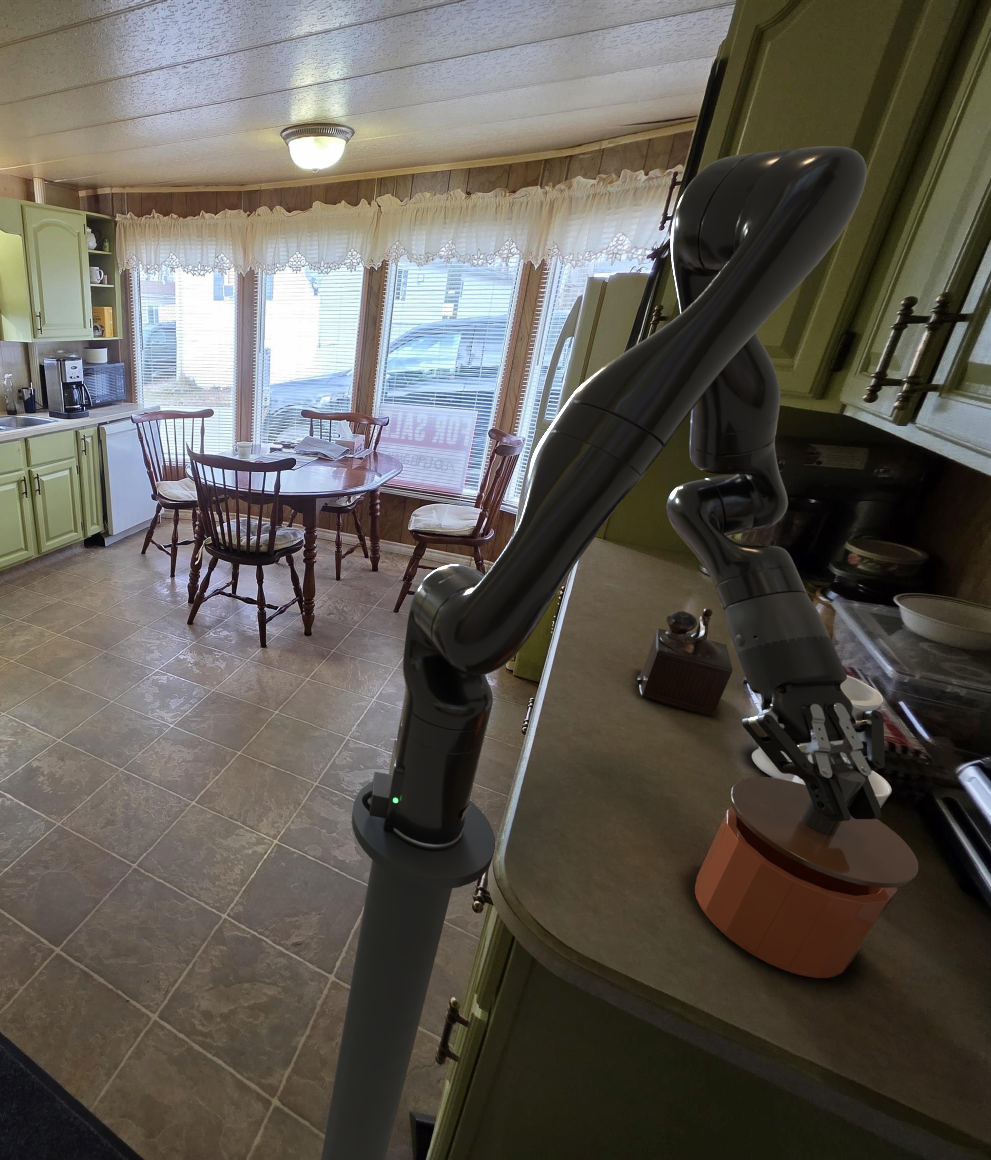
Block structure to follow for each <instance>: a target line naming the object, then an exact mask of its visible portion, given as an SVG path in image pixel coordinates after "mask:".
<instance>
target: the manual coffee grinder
mask: <svg viewBox="0 0 991 1160" xmlns="http://www.w3.org/2000/svg"><path fill="white" fill-rule="evenodd" d="M712 615H713V610H712V609H711V608H704V609H702V615H700V616H699V618H698V620H697V617H695V615H693V613H689V612H687V611H684V610H682V611H672V612H671V613H670V614H669V615H667V617H666V619H665V621H666V623H667V625H668V630H667V629H663V628H658V629H657V630H656V631H655V635H654V637H653V640H652V643H651V645H650V648H649V651H648V654H647V656H646V660H645V663H644V665H643V668H642V669H641V670H640V674H639V675H637V677H636V681H637V683H638V686H639V692H640V695H641V697H642V698H645V699H648V700H651V701H653V702H656V703H659V704H662V705H665V706H669V707H672V708H676V709H679V710H683V711H687V712H690V713H693V714H698V715H703V716H706V717H713V716H714V713H715V711H716V709H717V707H718V705H719V703H720V701H721V699H722V696H723V694H724V693H725V690H726V687H727V684H728V682H729V680H730V678H731V676H732V673H733V665H732V663H731V656H730V653H729V649H728V645H727V644H725V643H721V642H718V641H714V640H710V639H707V638H708V635H709V625H710V621H711V616H712ZM698 621H699V622H698ZM696 627H697V628H696ZM695 628H696V630H695V633H691V632H692V631H693V630H694V629H695Z"/></svg>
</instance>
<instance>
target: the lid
mask: <svg viewBox="0 0 991 1160" xmlns="http://www.w3.org/2000/svg"><path fill="white" fill-rule="evenodd" d="M830 766H831V770H832V777H831V778H829V779H836V781H837V784H838V786H839V789H840V791H841V793H842V796H843V798H844V801H845V803H846V806H847V808H848V811H849V809H850V807H851V805H852V803H853V802H854V800H855V798H856V796H857V794H858V793H859V791H860V789H861V787H862V785H863V784H864V782H865V778H864V776H863V775H861V774H860V773H859V772H857V771H855V770H853V769H851V768H849V767H846V766H843V765H839V764H830ZM729 802H730V805H731V808H733V810H734V812H735V813H736V815H737V816H738V817H739V819H740V820H741V821H742V822H743V823H744V824H745V825H746V826H747V827H748V828H749V829H750V830H751V831H752V832H753V833H754V834H756V835H757V836H758V837H759V838H761V839H762V840H763V841H764V842H766V843H767V844H769V845H770V846H772V847H773V848H775V849H776V850H778V851H780V852H781V853H783V854H784V855H786V856H788V857H790V858H792V859H793V860H795V861H797V862H799V863H801V864H803V865H805V866H807V867H809V868H812V869H814V870H816V871H819V872H821V873H824V874H826V875H829V876H832V877H834V878H837V879H841V880H844V881H847V882H851V883H855V884H859V885H864V886H870V887H878V888H895V887H897V888H900V887H904V886H906V885H909V884H910V883H911V882H913V881H914V880H915V878H916V876H917V874H918V872H919V862H918V858H917V857H916V855H915V852H914V851H913V850H912V848H911V847H910V846H909V845H908V844H907V843H906V841H904V839H902V837H900V836H899V834H897V833H896V832H895V831H894V830H893V829H891V828H890V827H889V826H887V825H886V824H885V823H883V821H881V820H880V819H854V818H853V817H852V816H851V815H850V816H851V818H850V820H848V821H825V820H823V819H822V818H821V817H820V815H819V814H818V813H817V811H816V810H815V808H814V805H813V802H812V800H811V798H810V795H809V792H808V790H807V787H806V785H804V784H800V783H796V782H792V781H788V780H783V779H777V778H773V777H768V776H767V777H766V776H753V777H747V778H744V779H740V780H738V781H737V782H736V783H735V784H733V786H732V788H731V790H730V792H729Z"/></svg>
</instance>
